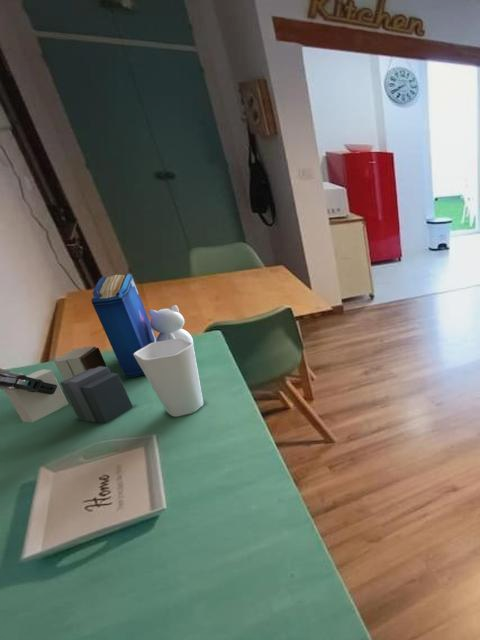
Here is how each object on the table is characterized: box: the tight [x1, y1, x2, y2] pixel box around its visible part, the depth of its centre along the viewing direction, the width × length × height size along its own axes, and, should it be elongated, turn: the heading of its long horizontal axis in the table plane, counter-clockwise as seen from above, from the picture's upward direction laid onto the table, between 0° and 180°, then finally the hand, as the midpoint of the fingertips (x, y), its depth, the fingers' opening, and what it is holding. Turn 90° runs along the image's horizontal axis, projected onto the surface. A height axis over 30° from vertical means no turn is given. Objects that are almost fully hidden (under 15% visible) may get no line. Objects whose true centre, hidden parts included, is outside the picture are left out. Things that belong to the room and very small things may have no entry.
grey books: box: [60, 366, 134, 424], centre depth 101 cm, size 8×7×11 cm
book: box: [90, 272, 157, 378], centre depth 120 cm, size 22×7×25 cm, turn 34°
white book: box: [4, 368, 69, 424], centre depth 89 cm, size 2×7×9 cm, turn 171°
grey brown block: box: [54, 346, 108, 381], centre depth 113 cm, size 6×7×9 cm
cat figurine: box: [148, 304, 194, 344], centre depth 128 cm, size 9×12×15 cm
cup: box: [133, 338, 204, 417], centre depth 102 cm, size 11×10×17 cm
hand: (47, 389), depth 91 cm, fingers closed on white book, 2 cm apart
